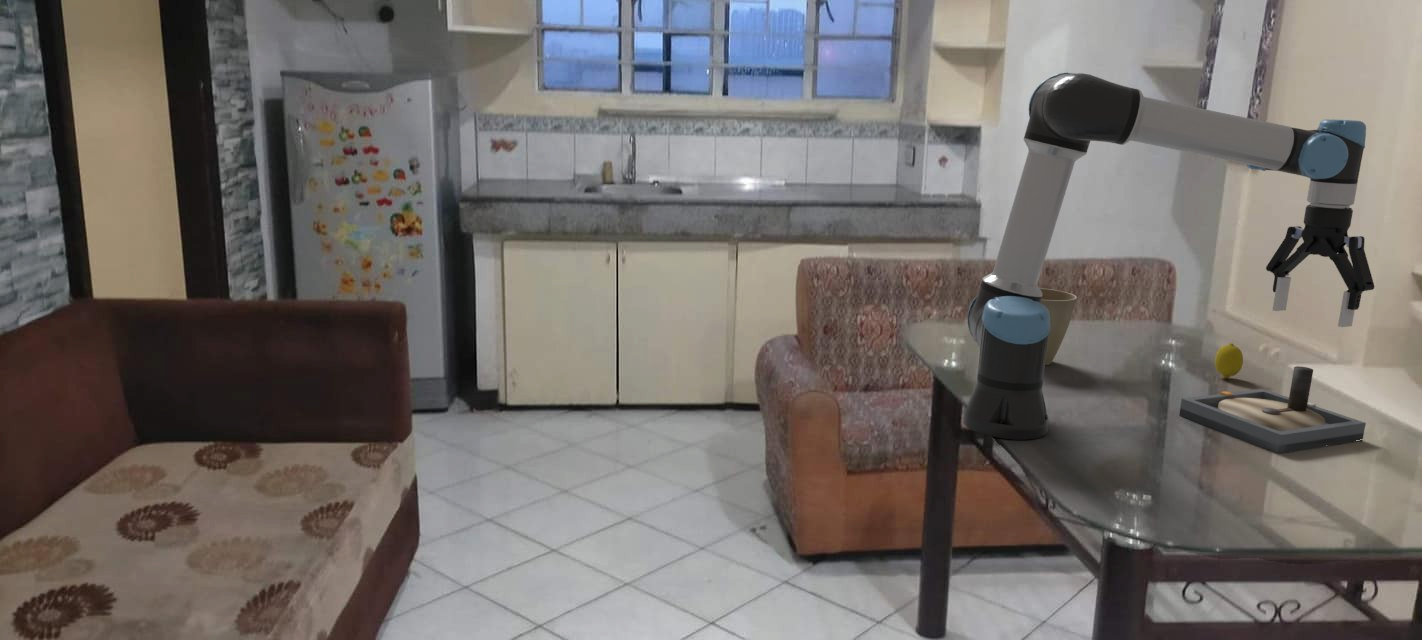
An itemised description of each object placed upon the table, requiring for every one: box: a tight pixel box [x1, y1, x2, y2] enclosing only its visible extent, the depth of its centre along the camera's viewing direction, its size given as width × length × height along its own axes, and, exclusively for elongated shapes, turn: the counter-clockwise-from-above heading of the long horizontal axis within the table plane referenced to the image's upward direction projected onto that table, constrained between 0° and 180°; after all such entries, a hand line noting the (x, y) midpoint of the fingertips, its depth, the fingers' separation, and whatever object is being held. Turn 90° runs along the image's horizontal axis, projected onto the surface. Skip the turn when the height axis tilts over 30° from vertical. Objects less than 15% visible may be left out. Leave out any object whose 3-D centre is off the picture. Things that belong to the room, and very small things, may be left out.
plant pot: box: [1039, 287, 1078, 366], centre depth 238 cm, size 15×15×16 cm
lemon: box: [1214, 343, 1244, 379], centre depth 231 cm, size 6×6×8 cm
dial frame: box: [1178, 388, 1367, 455], centre depth 198 cm, size 22×22×4 cm
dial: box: [1218, 365, 1325, 431], centre depth 197 cm, size 18×18×10 cm
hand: (1310, 318), depth 197 cm, fingers open, 13 cm apart
